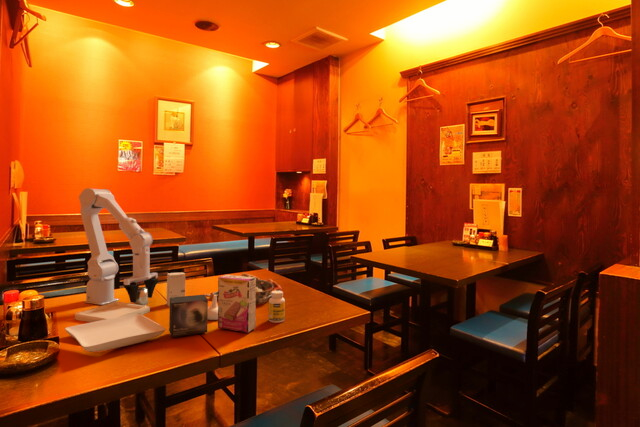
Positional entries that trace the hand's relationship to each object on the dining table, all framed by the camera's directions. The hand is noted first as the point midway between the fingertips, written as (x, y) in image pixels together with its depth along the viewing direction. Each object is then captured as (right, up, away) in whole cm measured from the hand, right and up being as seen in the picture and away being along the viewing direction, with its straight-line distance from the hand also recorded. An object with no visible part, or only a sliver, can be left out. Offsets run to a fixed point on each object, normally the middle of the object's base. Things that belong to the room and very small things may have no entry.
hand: (141, 299), depth 142 cm
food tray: (+38, -3, +10) cm, 40 cm away
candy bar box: (+42, -4, -25) cm, 49 cm away
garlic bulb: (+32, -3, -15) cm, 35 cm away
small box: (+28, -4, -28) cm, 40 cm away
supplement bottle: (+54, -3, -16) cm, 56 cm away
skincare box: (+13, -2, +1) cm, 13 cm away
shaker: (0, -2, 0) cm, 2 cm away
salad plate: (+9, -4, -34) cm, 35 cm away
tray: (-3, -2, -14) cm, 14 cm away
